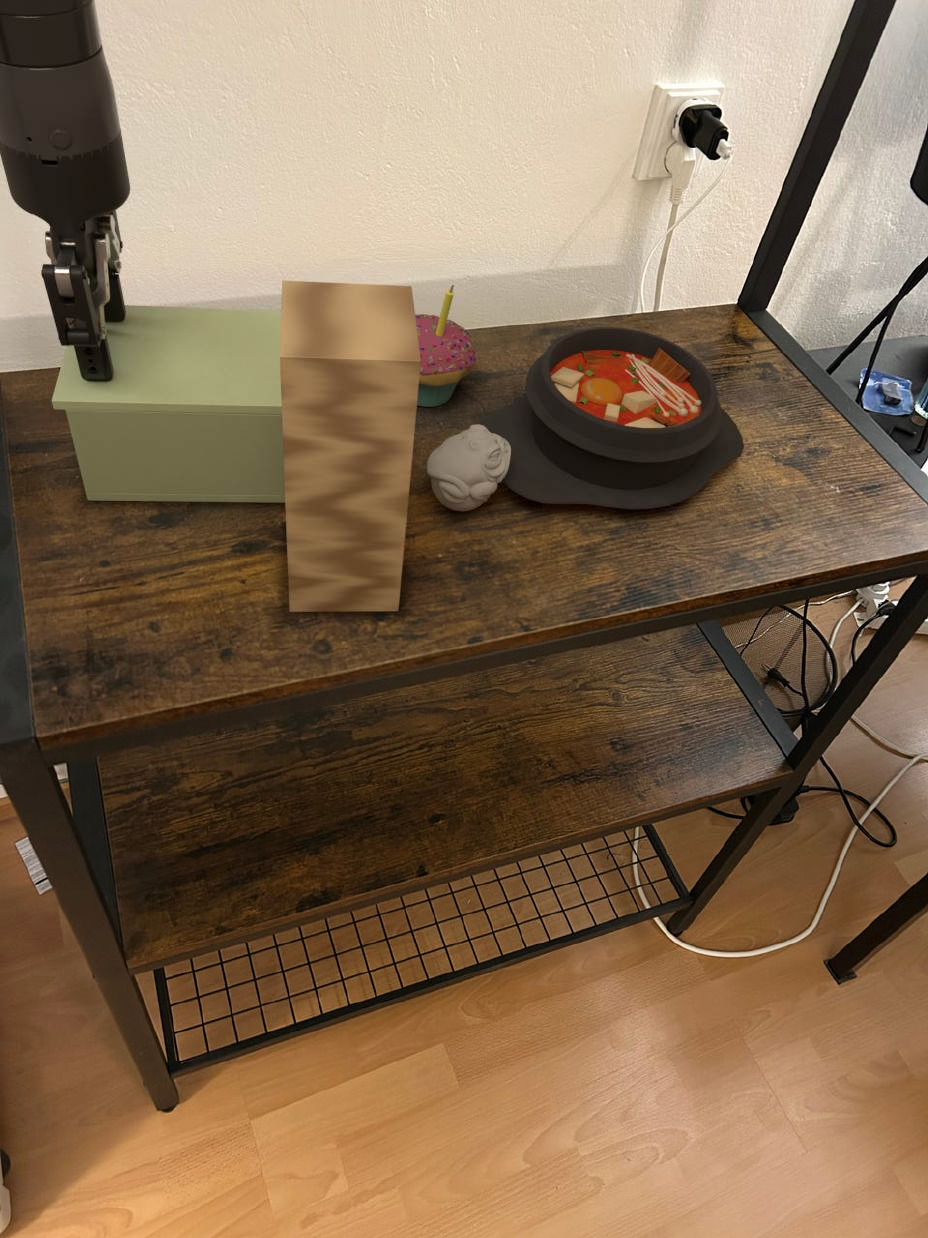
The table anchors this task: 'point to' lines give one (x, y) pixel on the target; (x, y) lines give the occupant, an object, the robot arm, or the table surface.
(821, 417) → the table surface
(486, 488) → the frog figurine
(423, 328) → the cupcake
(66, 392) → the lid
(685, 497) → the casserole
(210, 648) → the table surface
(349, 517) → the tall wooden pillar
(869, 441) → the table surface
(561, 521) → the table surface
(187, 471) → the chest
